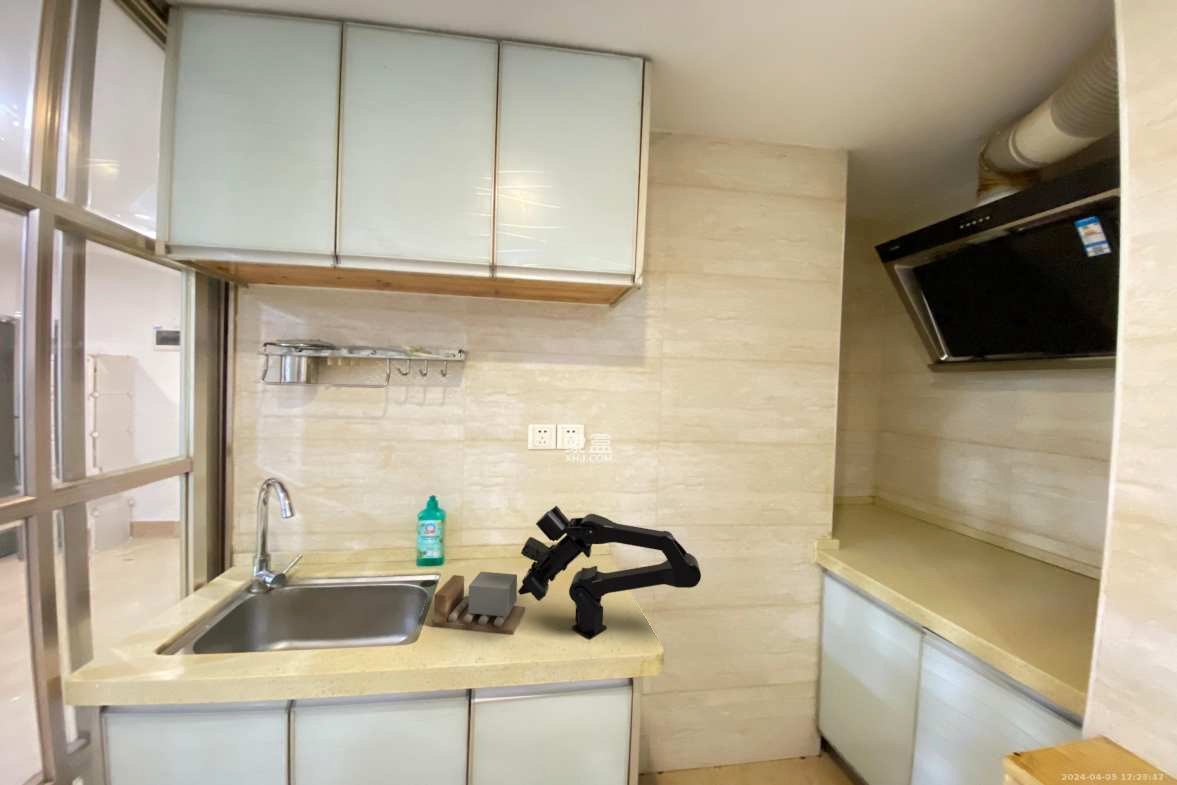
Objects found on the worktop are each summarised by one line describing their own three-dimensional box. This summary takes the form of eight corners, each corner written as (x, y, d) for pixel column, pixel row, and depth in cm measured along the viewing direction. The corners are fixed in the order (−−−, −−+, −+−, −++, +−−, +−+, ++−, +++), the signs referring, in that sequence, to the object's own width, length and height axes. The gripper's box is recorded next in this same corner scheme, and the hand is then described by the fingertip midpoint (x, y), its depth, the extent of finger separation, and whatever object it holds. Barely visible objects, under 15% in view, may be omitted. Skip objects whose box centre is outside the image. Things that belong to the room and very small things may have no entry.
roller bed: (525, 611, 118) (525, 581, 118) (512, 634, 107) (513, 601, 107) (450, 604, 121) (451, 574, 120) (431, 626, 110) (431, 594, 110)
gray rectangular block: (516, 600, 117) (517, 574, 116) (507, 616, 109) (507, 588, 108) (480, 597, 118) (480, 571, 118) (468, 613, 110) (468, 585, 110)
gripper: (549, 517, 120) (509, 554, 122) (531, 543, 102) (485, 585, 104) (577, 548, 119) (536, 585, 121) (564, 579, 101) (516, 622, 103)
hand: (519, 592), depth 112 cm, fingers closed
